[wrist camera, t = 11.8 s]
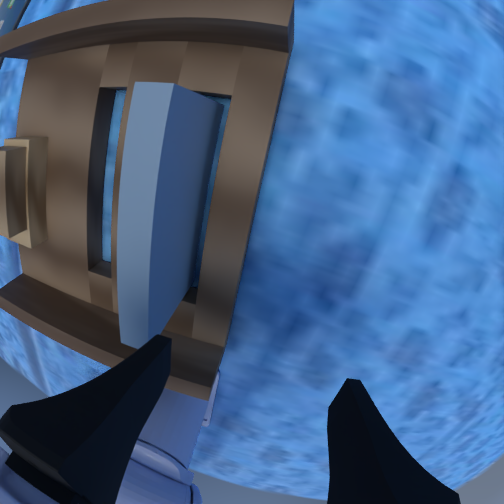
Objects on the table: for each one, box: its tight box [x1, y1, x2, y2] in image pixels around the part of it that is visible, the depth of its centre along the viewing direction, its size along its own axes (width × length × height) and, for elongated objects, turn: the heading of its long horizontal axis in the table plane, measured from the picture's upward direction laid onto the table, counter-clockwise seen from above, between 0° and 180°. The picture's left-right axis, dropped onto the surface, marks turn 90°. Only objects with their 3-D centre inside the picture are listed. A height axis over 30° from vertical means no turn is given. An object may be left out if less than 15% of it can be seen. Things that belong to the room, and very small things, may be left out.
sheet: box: [117, 82, 224, 349], centre depth 14 cm, size 12×2×8 cm, turn 168°
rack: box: [0, 0, 294, 401], centre depth 16 cm, size 22×20×6 cm
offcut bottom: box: [4, 136, 48, 249], centre depth 16 cm, size 8×4×2 cm, turn 168°
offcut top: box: [0, 146, 27, 238], centre depth 14 cm, size 6×3×2 cm, turn 168°
